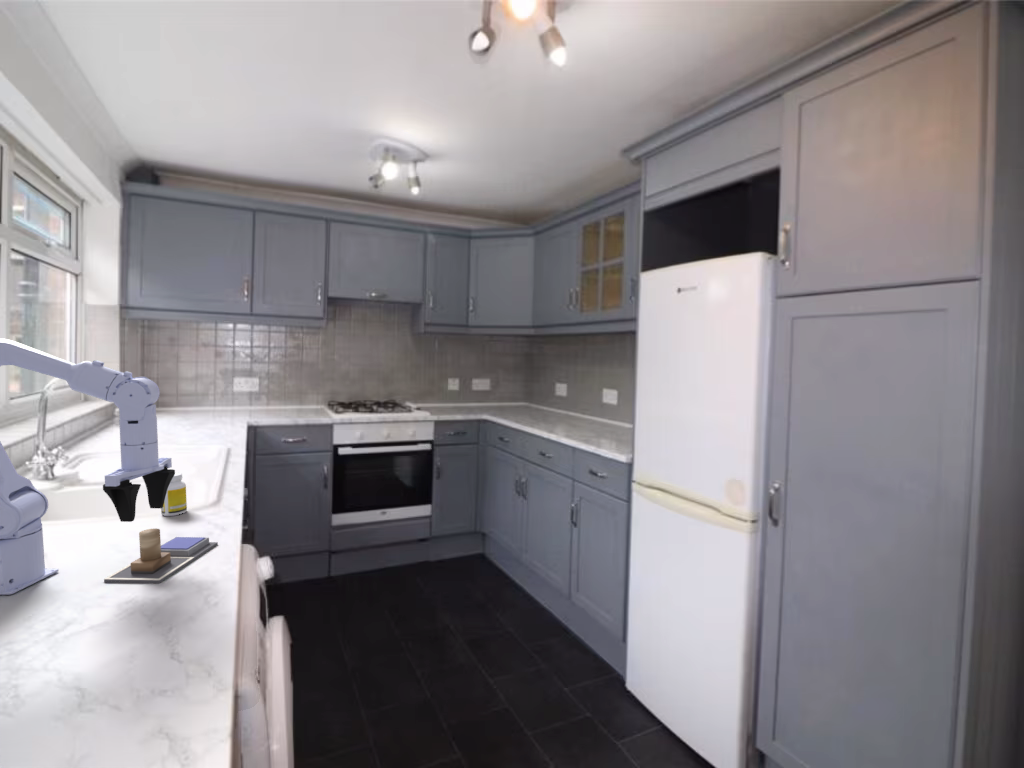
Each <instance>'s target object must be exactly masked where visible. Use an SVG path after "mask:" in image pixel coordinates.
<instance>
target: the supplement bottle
mask: <svg viewBox="0 0 1024 768" xmlns="http://www.w3.org/2000/svg"><path fill="white" fill-rule="evenodd" d="M182 480H183V473H182V472H175V475H174V476H173V478H172V480H171V482H170V484H169V486H168V489H167V493H166V496H165V500H164V504H163V508H160V510H161V511H160V512H161V515H162V516H163V515H164V517H173V516H174V517H175V516H179V514H180V515H183V514H184V513H186V512H187V510H188V509H187V508H188V503H187V486H186V485H187V484H186V483H185V482H184V481H182ZM182 513H183V514H182Z"/></svg>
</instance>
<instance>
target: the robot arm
mask: <svg viewBox="0 0 1024 768" xmlns="http://www.w3.org/2000/svg"><path fill="white" fill-rule="evenodd" d="M3 366H13V367H14V366H15V367H18V368H20V369H25V370H28V371H32V372H36V373H38V374H39V373H40V374H43V375H46V376H50V377H53V378H57V379H60V380H63V381H66V383H67V385H68V386H69V388H70V389H71V390H72V391H75V392H78V393H81V394H84V395H86V396H90V397H93V398H96V399H99V400H103V401H105V402H109V403H113V404H114V405H115V406H116V407H117V408H118V411H119V419H118V422H119V443H120V447H119V448H120V462H121V463H120V467H119V468H117V469H116V470H114V471H112V472H111V473H108V474H105V475H104V484H102V491H103V492H104V493H105V494H106V495H107V496H108V498H109V499H110V500H111V502H112V504H113V505H114V508H115V510H116V512H117V515H118V518H119V520H120V522H121V523H122V522H124V523H125V522H126V523H128V522H129V523H132V522H134V521H135V518H136V503H137V498H138V493H139V492H140V488H141V486H142V485H141V484H140V483H132V481H133V480H136V479H138V478H140V477H142V479H143V482H144V485H145V488H146V491H147V499H148V504H149V508H150V509H161V508H163V504H164V500H165V496H166V493H167V489H168V486H169V484H170V482H171V480H172V478H173V476H174V475H175V473H176V470H175V469H170V468H172V463H173V462H172V457H159V441H158V435H159V434H158V417H157V405H156V404H155V403H156V402H158V400H159V399H160V394H161V392H160V391H161V390H160V388H159V386H158V383H156V382H155V381H154V380H152V379H149V378H148V377H147V376H136V377H133V372H131V371H128V370H126V371H124V372H123V371H121V370H117V369H114V368H110V367H109V366H105V362H104V361H101V360H98V359H97V360H93V361H90V360H83V361H81V362H78V363H74V362H71V361H69V360H66V359H64V358H60V357H58V356H55V355H53V354H51V353H47V352H44V351H43V350H42V351H41V350H40V349H38V348H37V349H36V348H33V347H32V346H28V345H26V344H23V343H20V342H18V341H15V340H11V339H8V338H0V367H3ZM48 510H49V501H48V498H47V496H46V495H45V494H44V493H43V492H41V491H40V490H39V489H37V488H36V487H35V486H34V485H33V483H32V481H31V479H29V478H27V477H25V476H23V475H21V474H19V473H18V472H17V470H16V468H15V466H14V465H13V463H12V460H11V459H10V457H9V455H8V453H7V452H6V450H5V447H4V445H3V443H2V442H1V441H0V595H4V596H7V595H13V594H15V593H18V592H20V591H22V590H23V589H25V588H27V587H30V586H32V585H33V584H35V583H38V582H40V581H42V580H43V579H45V578H48V577H50V576H51V575H54V574H56V573H58V572H59V571H60V570H59V568H46V565H45V564H46V563H45V562H46V561H45V548H44V535H43V532H44V531H43V523H42V517H43V516H45V514H46V513H47V512H48Z"/></svg>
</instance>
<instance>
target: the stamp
mask: <svg viewBox="0 0 1024 768" xmlns="http://www.w3.org/2000/svg"><path fill="white" fill-rule="evenodd" d="M138 535H139V536H138V537H139V540H138V541H139V553H140V554H139V558H137V559H135V560H133V561H131V562H130V564H131V574H154V573H155V572H157V571H158V570H160V569H162V568H163V567H165V566H166V565H168V564H170V563H171V556H170V553H167V552H161V545H162V543H161V541H162V540H161V530H160V528H148V529H144V530H141V531H139V533H138Z"/></svg>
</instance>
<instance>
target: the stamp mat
mask: <svg viewBox="0 0 1024 768" xmlns="http://www.w3.org/2000/svg"><path fill="white" fill-rule="evenodd" d="M218 545H219V543H218V542H217V541H216V542H215V541H211V542H210V537H206V536H205V537H204V536H203V537H202V536H201V537H200V536H199V537H195V536H194V537H193V536H190V537H189V536H188V537H187V536H186V537H184V536H176V537H174V538H171V539H170V540H169V541H166V542H165V543H162V544H161V552H167V553H170V556H171V563H170V564H168V565H166V566H165V567H163V568H162V569H160V570H158V571H157V572H155V573H154V574H131V563H129V564H127V565H126V566H125V567H122V568H121V569H119V570H117V571H116V572H114V573H112V574H111V575H108V576H107V577H105V578H104V579H103V583H123V584H125V583H130V584H131V583H132V584H139V583H140V584H160V583H162V582H163V581H165V580H166V579H168V578H170V577H171V576H173V575H174V574H176V573H177V572H179V571H181V570H182V569H183V568H185V567H186V566H188V565H189V564H191V563H192V562H194V561H196V560H197V559H198V558H200V557H201V556H203V555H205V554H206V553H207V552H209V551H210V550H212V549H213V548H215V547H217V546H218Z"/></svg>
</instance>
